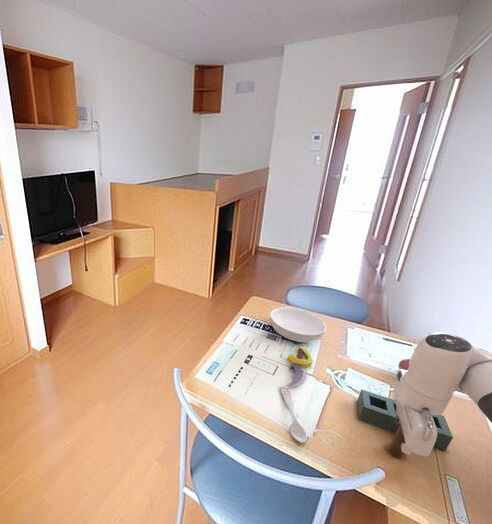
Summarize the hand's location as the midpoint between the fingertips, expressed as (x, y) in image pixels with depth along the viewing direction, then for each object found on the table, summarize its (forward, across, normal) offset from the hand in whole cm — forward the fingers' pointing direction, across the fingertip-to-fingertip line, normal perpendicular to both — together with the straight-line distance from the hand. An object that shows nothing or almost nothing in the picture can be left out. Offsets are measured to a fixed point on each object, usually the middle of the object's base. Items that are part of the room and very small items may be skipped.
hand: (401, 435), depth 78 cm
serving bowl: (+6, +44, +28) cm, 52 cm away
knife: (+6, +21, +25) cm, 33 cm away
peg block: (+6, +11, -2) cm, 13 cm away
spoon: (+6, -1, +25) cm, 25 cm away
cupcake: (+6, +35, -9) cm, 37 cm away
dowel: (+6, 0, 0) cm, 6 cm away
